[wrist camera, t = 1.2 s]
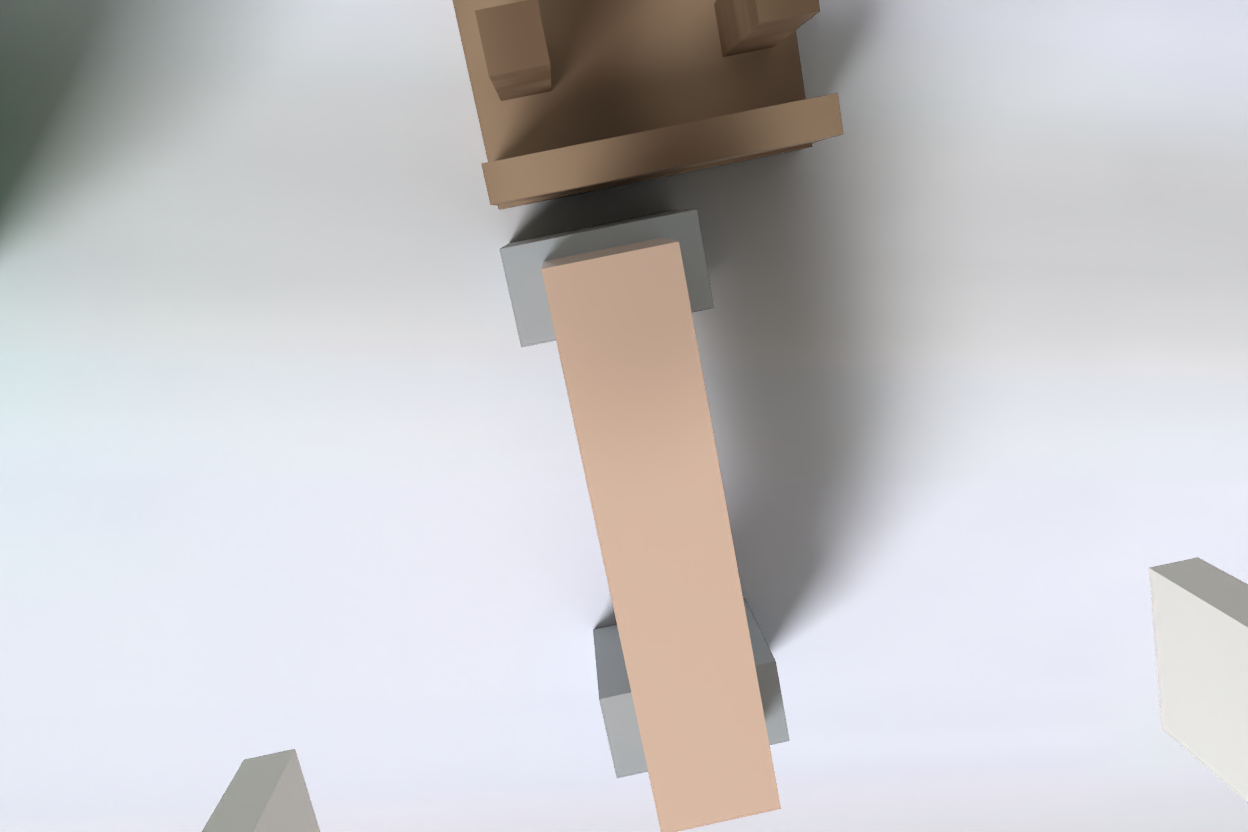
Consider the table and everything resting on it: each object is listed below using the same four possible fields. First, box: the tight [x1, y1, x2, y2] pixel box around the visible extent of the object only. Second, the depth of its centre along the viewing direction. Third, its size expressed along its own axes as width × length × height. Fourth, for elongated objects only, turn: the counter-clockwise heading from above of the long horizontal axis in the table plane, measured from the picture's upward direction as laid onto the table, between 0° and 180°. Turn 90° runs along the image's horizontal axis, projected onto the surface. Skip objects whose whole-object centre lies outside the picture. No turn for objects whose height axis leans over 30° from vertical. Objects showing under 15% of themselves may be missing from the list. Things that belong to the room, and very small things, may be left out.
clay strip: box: [541, 237, 781, 832], centre depth 23 cm, size 3×14×4 cm, turn 11°
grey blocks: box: [500, 209, 789, 778], centre depth 27 cm, size 5×15×4 cm, turn 11°
